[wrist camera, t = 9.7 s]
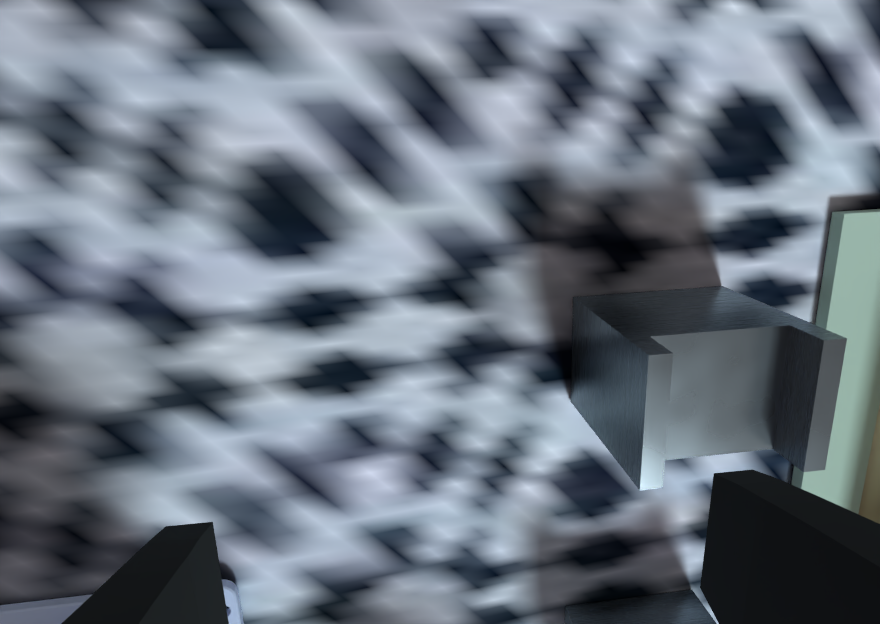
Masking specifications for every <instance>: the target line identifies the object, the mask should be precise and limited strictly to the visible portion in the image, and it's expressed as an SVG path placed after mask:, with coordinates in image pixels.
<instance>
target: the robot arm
mask: <svg viewBox="0 0 880 624" xmlns="http://www.w3.org/2000/svg"><path fill="white" fill-rule="evenodd" d="M700 588H701V590H702V592H703V594H704V596H705V598H706V600H707V602H708V603H709V605H710V607H711V609H712V611H713V613H714V615H715V617H716V619H717V621H718V622H719V624H880V524H879V523H876V522H874V521H872V520H870V519H868V518H865V517H863V516H861V515H859V514H857V513H854V512H852V511H850V510H848V509H845V508H843V507H841V506H839V505H837V504H834V503H832V502H830V501H828V500H826V499H823V498H821V497H819V496H817V495H814V494H812V493H810V492H807V491H805V490H803V489H800V488H798V487H796V486H794V485H791V484H789V483H786V482H784V481H781V480H779V479H776V478H774V477H771V476H769V475H766V474H763V473H760V472H757V471H755V470H745V471H735V472H724V473H714V477H713V486H712V494H711V502H710V511H709V519H708V527H707V536H706V544H705V552H704V561H703V569H702V577H701V586H700ZM226 606H228V607H229V608H228V609H226ZM0 624H244V621H243V615H242V609H241V604H240V598H239V592H238V588H237V586H236V585H235V584H234V583H233V582H232V581H229V580H225V579H222V578H221V572H220V565H219V559H218V553H217V546H216V540H215V534H214V528H213V522H208V523H197V524H187V525H177V526H166V527H165V528H164V529H162V530H161V531H160V532H159V533H158V534H157V535H156V536H154V537H153V538H152V539H151V540H150V541H149V542H148V543H147V544H146V545H145V546H144V547H142V548H141V549H140V550H139V551H138V552H137V553H136V554H135V555H134V556H133V557H132V558H131V559H130V560H129V561H128V562H127V563H126V564H124V565H123V566H122V567H121V568H120V569H119V570H118V571H117V572H116V573H115V574H114V575H113V576H112V577H111V578H110V579H109V580H108V581H107V582H105V583H104V584H103V585H102V586H101V587H100V588H99V589H98V590H97V591H96V592H95V593H94V594H92V595H83V596H75V597H66V598H58V599H49V600H41V601H32V602H24V603H15V604H7V605H0Z"/></svg>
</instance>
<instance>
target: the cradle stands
mask: <svg viewBox="0 0 880 624" xmlns="http://www.w3.org/2000/svg"><path fill="white" fill-rule="evenodd" d="M846 342H847V338H845V337H843V336H840V335H838V334H836V333H833V332H831V331H828V330H826V329H824V328H821V327H819V326H816V325H814V324H812V323H809V322H807V321H804V320H802V319H800V318H797V317H795V316H793V315H790V314H788V313H785V312H783V311H781V310H778V309H776V308H773V307H771V306H769V305H766V304H764V303H761V302H759V301H757V300H754V299H752V298H750V297H747V296H745V295H742V294H740V293H738V292H735V291H733V290H730V289H728V288H726V287H723V286H719V287H705V288H691V289H678V290H664V291H651V292H637V293H623V294H610V295H596V296H583V297H573V326H572V366H571V403H572V404H573V405H574V406H575V408H576V409H577V410H578V412H579V413H580V414H581V415H582V417H583V418H584V419H585V421H586V422H587V423H588V424H589V426H590V427H591V428H592V430H593V431H594V432H595V433H596V435H597V436H598V437H599V439H600V440H601V441H602V442H603V444H604V445H605V446H606V448H607V449H608V450H609V451H610V453H611V454H612V455H613V457H614V458H615V459H616V460H617V462H618V463H619V464H620V466H621V467H622V468H623V469H624V471H625V472H626V473H627V475H628V476H629V477H630V478H631V480H632V481H633V482H634V484H635V485H636V486H637V487H638V489H639V490H648V489H657V488H663V478H664V465H665V460H671V459H681V458H690V457H700V456H709V455H719V454H728V453H738V452H747V451H757V450H766V449H774V450H775V451H776V452H778V453H779V454H780V455H782V456H783V457H784V458H785V459H787V460H788V461H789V462H791V463H792V464H793V465H795V466H796V467H797V468H799V469H800V470H801V471H802V472H811V471H820V470H825V467H826V461H827V455H828V449H829V443H830V437H831V431H832V425H833V420H834V414H835V408H836V402H837V396H838V390H839V384H840V378H841V372H842V366H843V360H844V354H845V348H846ZM565 624H716V622H715V621H714V620H713V618H712V617H711V615H710V614H709V613H708V611H707V610H706V609H705V607H704V606H703V604H702V603H701V602H700V600H699V599H698V597H697V596H696V595H695V593H694V592H693V591H692V590H686V591H678V592H671V593H663V594H655V595H648V596H640V597H632V598H625V599H617V600H609V601H602V602H594V603H586V604H578V605H571V606H565Z"/></svg>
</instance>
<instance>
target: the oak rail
mask: <svg viewBox="0 0 880 624" xmlns="http://www.w3.org/2000/svg"><path fill="white" fill-rule="evenodd" d="M858 514H859V515H861V516H863V517H865V518H868V519H870V520H872V521H874V522H876V523H879V524H880V405H879V410H878V415H877V420H876V425H875V431H874V436H873V441H872V446H871V451H870V456H869V462H868V467H867V472H866V477H865V482H864V487H863V493H862V498H861V503H860V508H859V513H858Z"/></svg>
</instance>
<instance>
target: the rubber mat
mask: <svg viewBox="0 0 880 624" xmlns="http://www.w3.org/2000/svg"><path fill="white" fill-rule="evenodd" d="M815 325H816V326H819V327H821V328H824V329H826V330H828V331H831V332H833V333H836V334H838V335H840V336H843V337H845V338H847V342H846V348H845V354H844V360H843V366H842V372H841V378H840V384H839V390H838V396H837V402H836V408H835V414H834V420H833V425H832V431H831V437H830V443H829V449H828V455H827V461H826V467H825V470H820V471H811V472H802V471H801V470H800V469H799V468H797V467H796V466H795V465H794V470H793V476H792V483H791V485H794V486H796V487H798V488H800V489H803V490H805V491H807V492H810V493H812V494H814V495H817V496H819V497H821V498H823V499H826V500H828V501H830V502H832V503H834V504H837V505H839V506H841V507H843V508H845V509H848V510H850V511H852V512H854V513H857V514H858V513H859V508H860V503H861V498H862V493H863V487H864V482H865V477H866V472H867V467H868V462H869V456H870V451H871V446H872V441H873V436H874V431H875V425H876V420H877V415H878V410H879V405H880V209H872V210H856V211H839V212H832V217H831V224H830V231H829V237H828V244H827V250H826V257H825V264H824V270H823V277H822V284H821V290H820V297H819V304H818V310H817V317H816V323H815Z"/></svg>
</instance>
